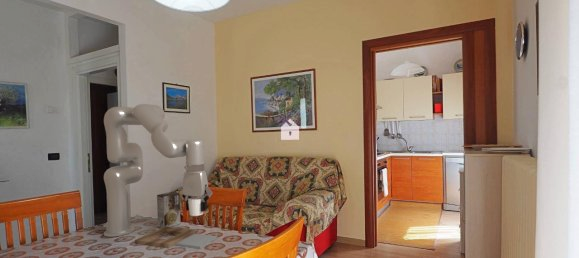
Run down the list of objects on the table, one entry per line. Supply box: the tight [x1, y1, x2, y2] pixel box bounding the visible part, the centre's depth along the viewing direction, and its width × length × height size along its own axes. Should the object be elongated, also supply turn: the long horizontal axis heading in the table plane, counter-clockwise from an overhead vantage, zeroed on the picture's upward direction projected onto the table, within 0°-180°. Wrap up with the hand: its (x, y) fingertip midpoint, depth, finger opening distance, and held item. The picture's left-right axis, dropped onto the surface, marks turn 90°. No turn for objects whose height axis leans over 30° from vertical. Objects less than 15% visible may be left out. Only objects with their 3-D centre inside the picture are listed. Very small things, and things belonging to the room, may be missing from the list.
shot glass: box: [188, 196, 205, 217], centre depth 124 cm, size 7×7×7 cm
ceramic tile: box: [175, 233, 218, 249], centre depth 124 cm, size 12×12×1 cm
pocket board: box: [134, 226, 198, 249], centre depth 129 cm, size 18×18×2 cm
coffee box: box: [156, 191, 181, 229], centre depth 147 cm, size 9×6×16 cm
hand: (196, 210), depth 124 cm, fingers closed on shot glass, 6 cm apart
